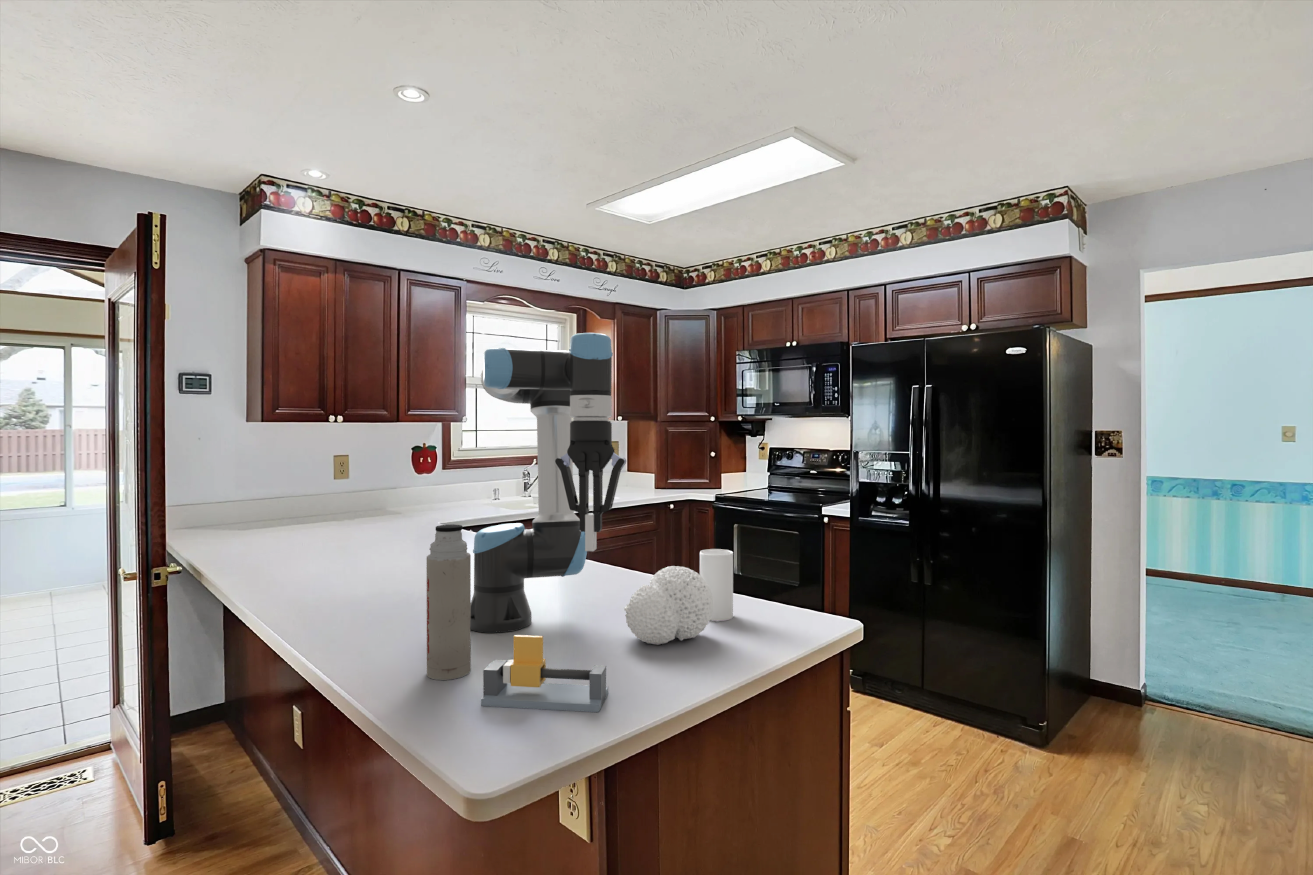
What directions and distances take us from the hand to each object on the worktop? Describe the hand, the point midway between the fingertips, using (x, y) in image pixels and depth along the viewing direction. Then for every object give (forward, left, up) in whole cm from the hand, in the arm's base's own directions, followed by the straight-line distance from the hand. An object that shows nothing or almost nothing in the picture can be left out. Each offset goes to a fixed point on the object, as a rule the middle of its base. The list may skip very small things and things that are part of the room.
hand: (590, 549), depth 121 cm
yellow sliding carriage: (-9, -8, -22) cm, 25 cm away
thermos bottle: (-28, +2, -25) cm, 37 cm away
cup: (+21, +47, -25) cm, 57 cm away
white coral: (+12, +27, -25) cm, 38 cm away
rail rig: (-6, -8, -24) cm, 26 cm away
